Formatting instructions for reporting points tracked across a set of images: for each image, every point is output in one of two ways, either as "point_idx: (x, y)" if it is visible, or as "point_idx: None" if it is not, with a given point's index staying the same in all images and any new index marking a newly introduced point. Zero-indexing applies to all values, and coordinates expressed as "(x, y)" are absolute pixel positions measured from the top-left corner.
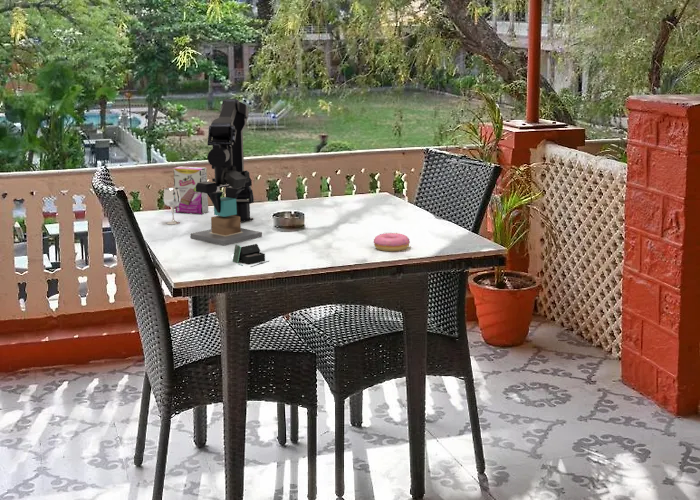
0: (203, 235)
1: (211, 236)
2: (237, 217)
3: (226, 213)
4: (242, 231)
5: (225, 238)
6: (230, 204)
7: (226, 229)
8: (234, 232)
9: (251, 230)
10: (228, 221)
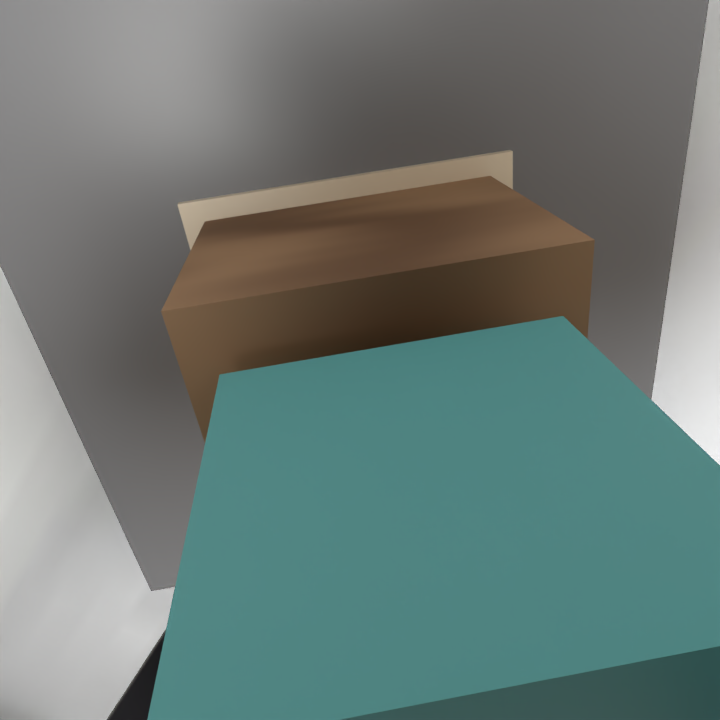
0: (628, 364)
1: (613, 265)
2: (239, 296)
3: (531, 357)
4: (154, 262)
5: (590, 21)
6: (451, 524)
7: (487, 198)
8: (321, 206)
9: (8, 237)
10: (476, 240)
